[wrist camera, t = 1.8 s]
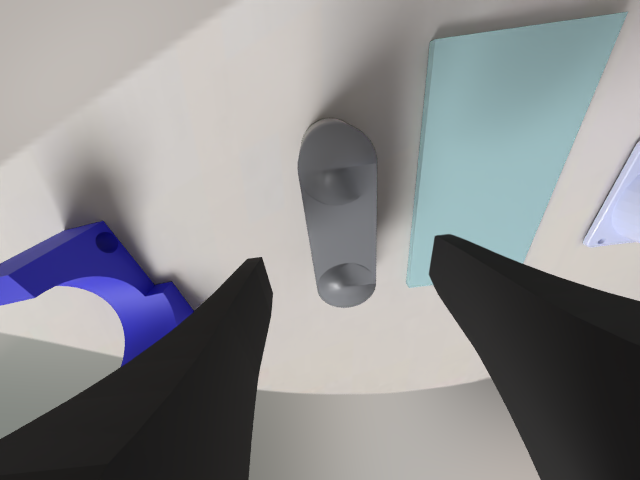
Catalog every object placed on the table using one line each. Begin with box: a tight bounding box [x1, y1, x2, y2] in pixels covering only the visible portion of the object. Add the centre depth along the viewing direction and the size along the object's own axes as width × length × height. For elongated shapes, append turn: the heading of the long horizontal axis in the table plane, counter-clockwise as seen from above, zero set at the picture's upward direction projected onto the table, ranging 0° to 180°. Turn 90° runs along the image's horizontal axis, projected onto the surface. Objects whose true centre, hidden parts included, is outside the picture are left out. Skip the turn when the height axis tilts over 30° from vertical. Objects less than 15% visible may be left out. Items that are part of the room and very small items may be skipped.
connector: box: [298, 118, 377, 308], centre depth 14 cm, size 4×12×4 cm, turn 7°
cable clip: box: [0, 221, 194, 367], centre depth 16 cm, size 12×4×6 cm, turn 13°
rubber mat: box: [406, 12, 628, 288], centre depth 15 cm, size 9×16×1 cm, turn 7°
